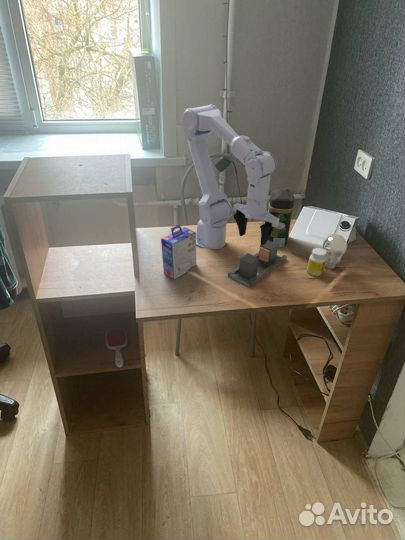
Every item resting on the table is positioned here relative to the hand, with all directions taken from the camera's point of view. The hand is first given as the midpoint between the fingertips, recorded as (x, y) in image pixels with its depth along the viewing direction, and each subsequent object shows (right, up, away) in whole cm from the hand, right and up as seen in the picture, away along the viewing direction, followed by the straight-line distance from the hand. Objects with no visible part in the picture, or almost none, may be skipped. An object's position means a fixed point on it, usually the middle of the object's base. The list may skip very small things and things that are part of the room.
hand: (252, 239), depth 117 cm
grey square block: (-1, -11, 0) cm, 11 cm away
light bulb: (+25, -9, +6) cm, 27 cm away
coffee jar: (+10, 0, +18) cm, 21 cm away
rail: (+2, -9, +4) cm, 10 cm away
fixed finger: (+5, -6, +7) cm, 11 cm away
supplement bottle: (+19, -11, +3) cm, 22 cm away
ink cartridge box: (-22, -9, +4) cm, 24 cm away
